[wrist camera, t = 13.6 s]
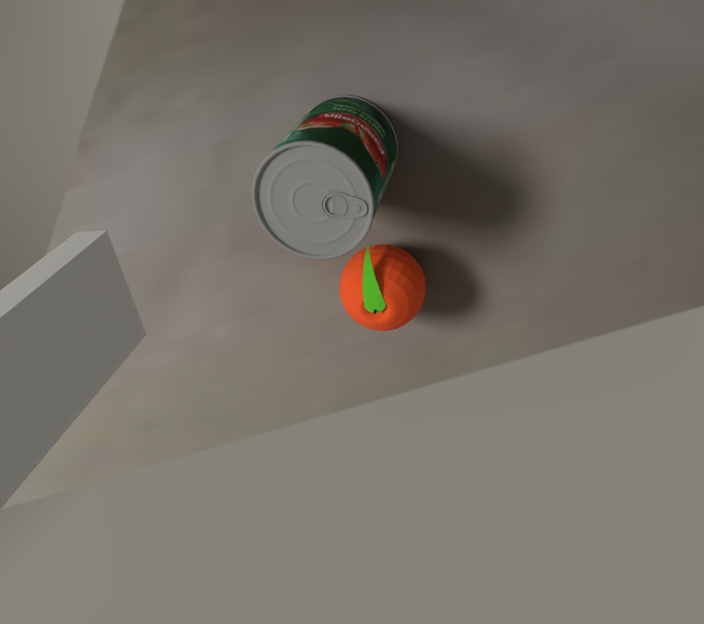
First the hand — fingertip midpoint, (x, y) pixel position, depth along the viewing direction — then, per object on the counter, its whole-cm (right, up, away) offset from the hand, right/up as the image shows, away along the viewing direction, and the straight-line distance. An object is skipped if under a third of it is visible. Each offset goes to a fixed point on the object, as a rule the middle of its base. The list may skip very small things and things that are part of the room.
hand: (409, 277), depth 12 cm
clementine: (+2, +4, +40) cm, 40 cm away
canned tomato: (-1, +12, +35) cm, 37 cm away
